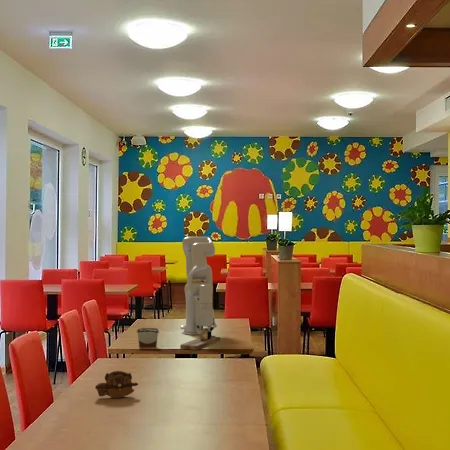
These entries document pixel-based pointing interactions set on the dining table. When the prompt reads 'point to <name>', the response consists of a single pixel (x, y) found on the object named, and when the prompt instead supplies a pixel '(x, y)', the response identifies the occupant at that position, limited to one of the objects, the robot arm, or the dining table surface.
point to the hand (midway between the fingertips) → (205, 337)
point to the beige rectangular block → (204, 333)
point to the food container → (148, 337)
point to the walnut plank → (199, 343)
